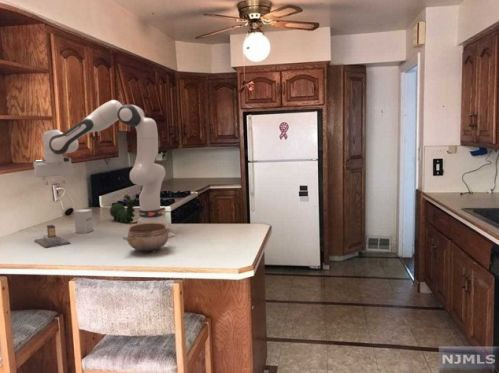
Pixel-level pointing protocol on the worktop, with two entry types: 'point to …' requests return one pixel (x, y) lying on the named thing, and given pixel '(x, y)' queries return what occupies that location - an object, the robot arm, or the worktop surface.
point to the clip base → (51, 241)
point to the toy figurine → (123, 211)
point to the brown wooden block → (51, 231)
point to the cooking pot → (147, 236)
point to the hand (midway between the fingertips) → (55, 184)
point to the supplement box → (83, 221)
